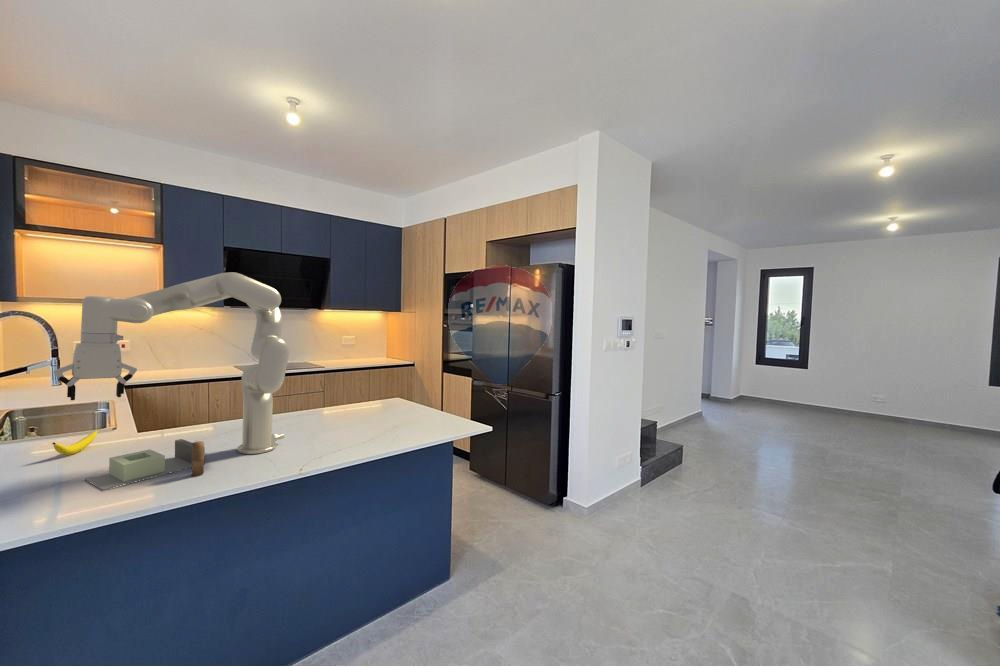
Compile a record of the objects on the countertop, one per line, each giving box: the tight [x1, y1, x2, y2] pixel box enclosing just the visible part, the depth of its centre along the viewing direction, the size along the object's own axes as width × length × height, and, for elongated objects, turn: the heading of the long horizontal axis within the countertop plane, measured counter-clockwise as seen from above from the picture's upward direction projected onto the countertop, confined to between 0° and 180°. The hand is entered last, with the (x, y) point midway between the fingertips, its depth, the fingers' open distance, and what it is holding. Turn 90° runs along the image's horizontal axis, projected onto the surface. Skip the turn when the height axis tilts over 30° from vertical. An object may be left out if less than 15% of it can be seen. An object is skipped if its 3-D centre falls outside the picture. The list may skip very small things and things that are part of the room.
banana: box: [51, 430, 99, 456], centre depth 143 cm, size 3×19×6 cm, turn 11°
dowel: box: [191, 441, 205, 477], centre depth 130 cm, size 3×3×10 cm
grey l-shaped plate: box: [85, 438, 206, 491], centre depth 130 cm, size 25×15×6 cm, turn 151°
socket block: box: [108, 448, 166, 482], centre depth 128 cm, size 10×10×5 cm
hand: (96, 398), depth 121 cm, fingers open, 9 cm apart
